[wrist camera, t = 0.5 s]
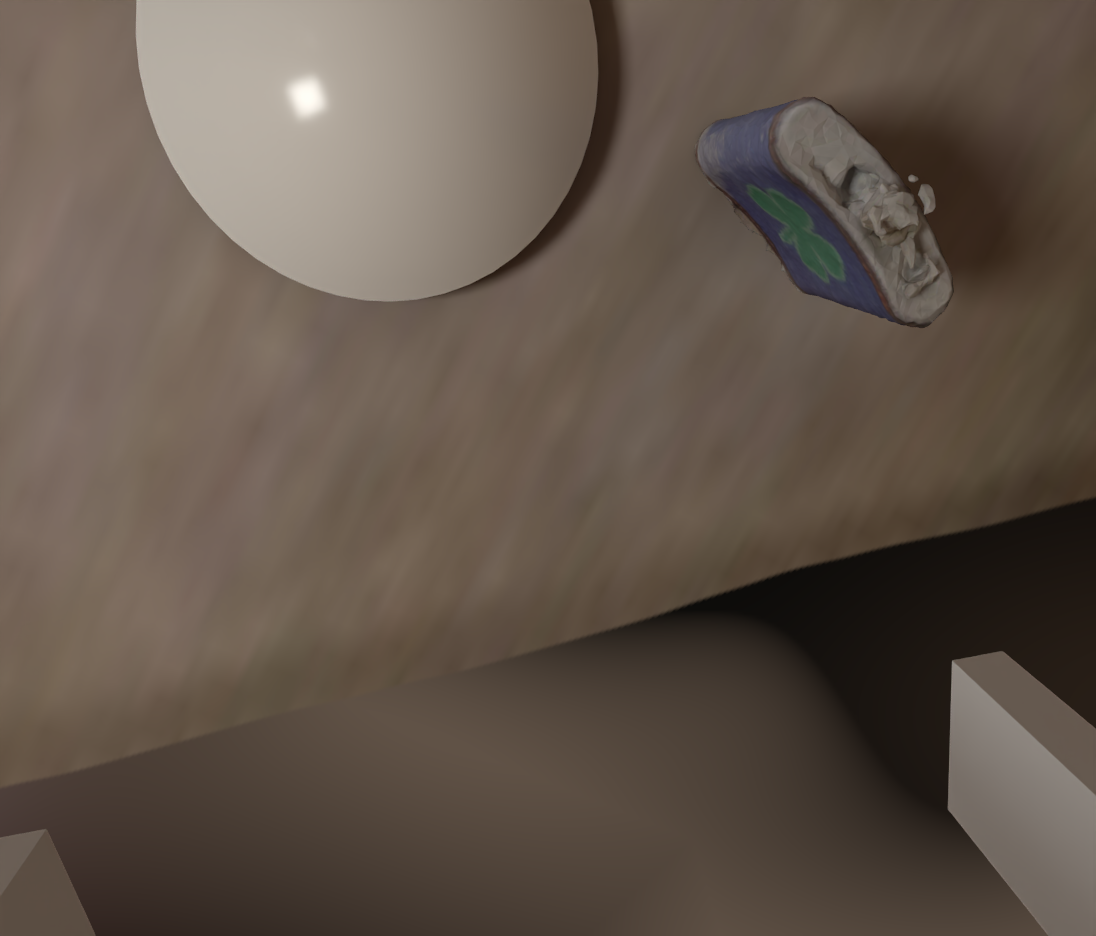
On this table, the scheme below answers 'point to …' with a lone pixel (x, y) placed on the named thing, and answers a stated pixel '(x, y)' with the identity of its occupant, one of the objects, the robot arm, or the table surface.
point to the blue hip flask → (830, 209)
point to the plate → (373, 130)
